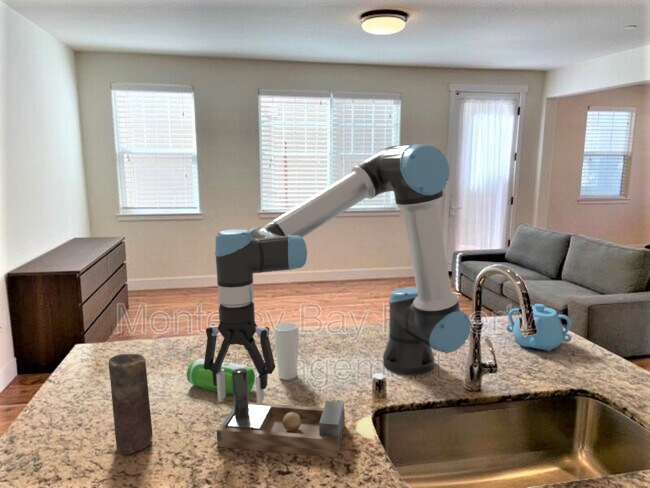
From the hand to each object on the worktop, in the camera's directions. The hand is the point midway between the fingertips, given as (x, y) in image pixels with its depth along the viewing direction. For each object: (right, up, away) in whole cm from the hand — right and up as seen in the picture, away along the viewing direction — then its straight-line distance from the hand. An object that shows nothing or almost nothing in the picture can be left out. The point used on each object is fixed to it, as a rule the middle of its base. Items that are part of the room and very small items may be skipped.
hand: (241, 399), depth 102 cm
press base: (+9, -8, 0) cm, 12 cm away
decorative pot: (+89, +2, +49) cm, 101 cm away
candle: (-22, -9, -3) cm, 24 cm away
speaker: (-9, -5, +22) cm, 24 cm away
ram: (+2, -6, +1) cm, 6 cm away
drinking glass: (+8, -3, +28) cm, 29 cm away
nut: (+11, -4, -1) cm, 12 cm away
